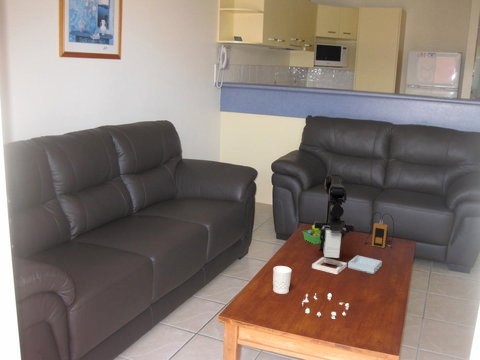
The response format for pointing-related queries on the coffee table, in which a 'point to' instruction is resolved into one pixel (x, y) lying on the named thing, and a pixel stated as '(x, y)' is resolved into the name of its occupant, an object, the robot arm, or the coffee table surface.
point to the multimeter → (380, 233)
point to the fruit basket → (312, 235)
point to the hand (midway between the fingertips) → (332, 242)
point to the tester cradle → (331, 270)
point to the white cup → (281, 279)
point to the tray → (364, 264)
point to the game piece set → (328, 299)
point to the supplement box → (332, 243)
